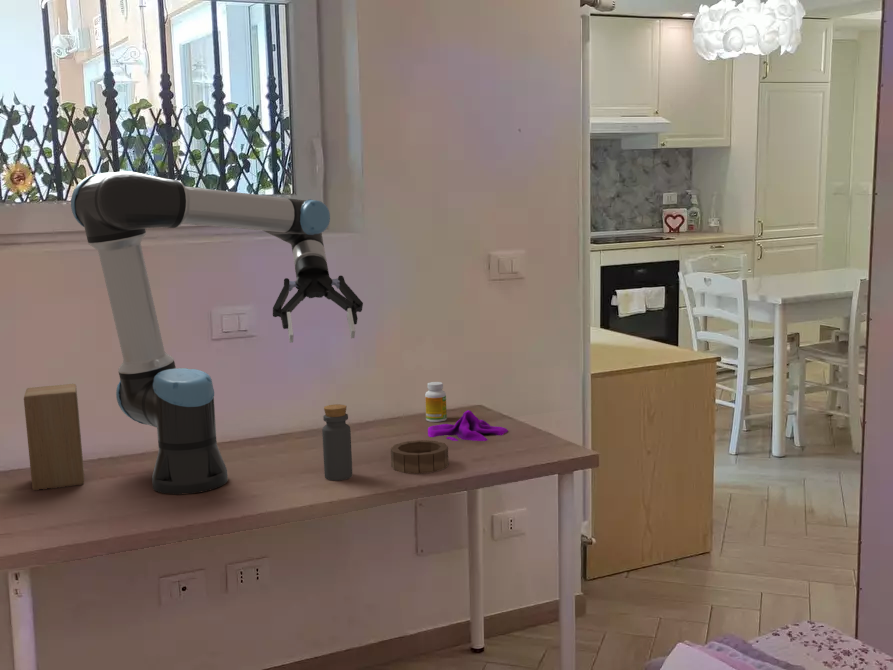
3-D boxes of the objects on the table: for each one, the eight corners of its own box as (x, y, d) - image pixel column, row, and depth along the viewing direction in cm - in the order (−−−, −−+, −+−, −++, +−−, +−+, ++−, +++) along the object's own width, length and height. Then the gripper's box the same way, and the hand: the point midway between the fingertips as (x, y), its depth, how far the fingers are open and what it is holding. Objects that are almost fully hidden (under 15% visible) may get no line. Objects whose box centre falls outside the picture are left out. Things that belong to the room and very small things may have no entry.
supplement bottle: (446, 422, 248) (445, 385, 246) (425, 422, 248) (424, 385, 246) (447, 417, 253) (445, 380, 252) (426, 417, 253) (425, 381, 252)
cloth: (412, 434, 239) (411, 409, 238) (471, 422, 250) (470, 398, 249) (467, 451, 221) (467, 425, 220) (528, 437, 232) (528, 412, 231)
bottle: (319, 478, 201) (315, 408, 199) (335, 471, 206) (331, 402, 204) (342, 482, 198) (339, 410, 196) (358, 474, 203) (354, 404, 201)
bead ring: (398, 475, 201) (397, 457, 201) (387, 461, 213) (386, 443, 212) (454, 469, 204) (453, 451, 204) (439, 455, 216) (439, 438, 215)
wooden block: (34, 478, 208) (25, 387, 205) (84, 472, 211) (76, 383, 208) (32, 491, 199) (23, 396, 196) (84, 485, 202) (75, 391, 199)
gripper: (362, 272, 231) (376, 342, 219) (256, 277, 225) (265, 350, 213) (365, 251, 225) (379, 322, 213) (256, 256, 219) (265, 330, 207)
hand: (322, 336), depth 213 cm, fingers open, 13 cm apart
